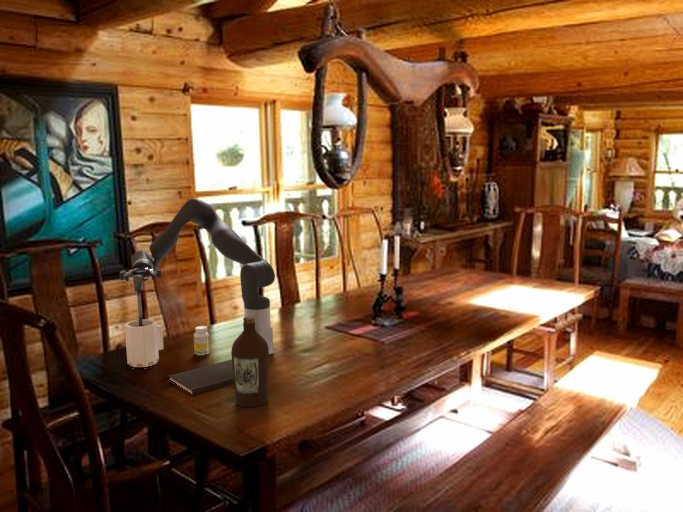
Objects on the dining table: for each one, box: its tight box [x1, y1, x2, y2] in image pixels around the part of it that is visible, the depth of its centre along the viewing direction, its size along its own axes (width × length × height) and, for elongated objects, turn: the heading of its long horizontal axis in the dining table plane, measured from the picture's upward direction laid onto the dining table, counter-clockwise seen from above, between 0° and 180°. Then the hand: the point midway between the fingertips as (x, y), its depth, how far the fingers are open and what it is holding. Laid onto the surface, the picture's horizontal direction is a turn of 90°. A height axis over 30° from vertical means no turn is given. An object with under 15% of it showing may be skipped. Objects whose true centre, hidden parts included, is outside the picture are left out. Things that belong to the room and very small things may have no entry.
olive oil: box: [230, 316, 270, 408], centre depth 171 cm, size 11×11×25 cm
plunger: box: [132, 275, 147, 327], centre depth 201 cm, size 7×7×19 cm
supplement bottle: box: [193, 325, 210, 356], centre depth 215 cm, size 5×5×10 cm
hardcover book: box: [168, 358, 234, 396], centre depth 191 cm, size 16×23×2 cm
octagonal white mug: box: [124, 318, 164, 367], centre depth 205 cm, size 10×12×14 cm
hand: (139, 277), depth 209 cm, fingers open, 8 cm apart
